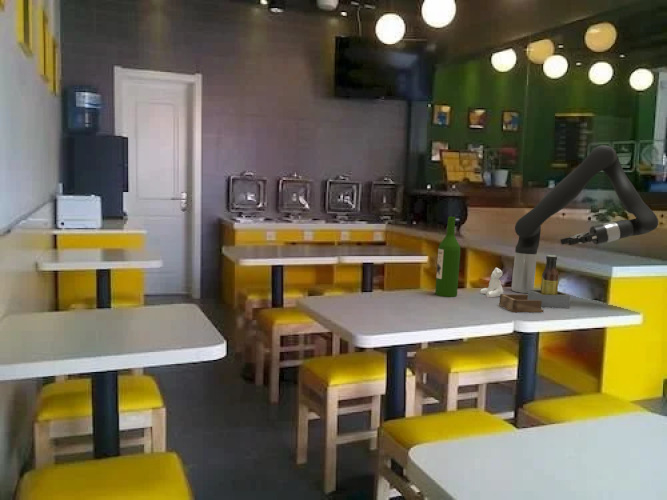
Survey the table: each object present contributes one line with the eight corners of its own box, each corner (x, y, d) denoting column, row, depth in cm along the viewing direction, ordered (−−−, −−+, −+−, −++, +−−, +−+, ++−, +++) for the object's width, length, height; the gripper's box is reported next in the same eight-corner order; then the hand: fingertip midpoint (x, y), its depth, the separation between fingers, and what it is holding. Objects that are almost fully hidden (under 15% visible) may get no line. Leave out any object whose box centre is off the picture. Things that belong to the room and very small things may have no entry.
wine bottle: (431, 293, 260) (436, 215, 256) (450, 292, 263) (455, 216, 259) (441, 297, 252) (447, 217, 248) (461, 296, 255) (467, 218, 251)
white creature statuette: (478, 293, 266) (481, 265, 264) (497, 293, 267) (500, 266, 266) (487, 297, 256) (490, 269, 255) (507, 298, 258) (509, 269, 256)
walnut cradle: (499, 305, 241) (500, 294, 240) (527, 305, 243) (528, 294, 243) (513, 312, 229) (514, 300, 229) (543, 312, 232) (544, 300, 231)
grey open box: (527, 301, 251) (528, 289, 251) (554, 302, 254) (555, 290, 253) (541, 307, 241) (542, 295, 240) (569, 307, 243) (570, 295, 242)
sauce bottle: (545, 302, 252) (550, 254, 249) (559, 305, 247) (564, 256, 244) (536, 304, 248) (540, 254, 245) (549, 307, 243) (554, 256, 240)
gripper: (595, 223, 254) (556, 232, 254) (610, 223, 239) (568, 233, 240) (599, 241, 254) (560, 250, 255) (614, 242, 240) (572, 252, 240)
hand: (564, 242), depth 247 cm, fingers open, 8 cm apart
